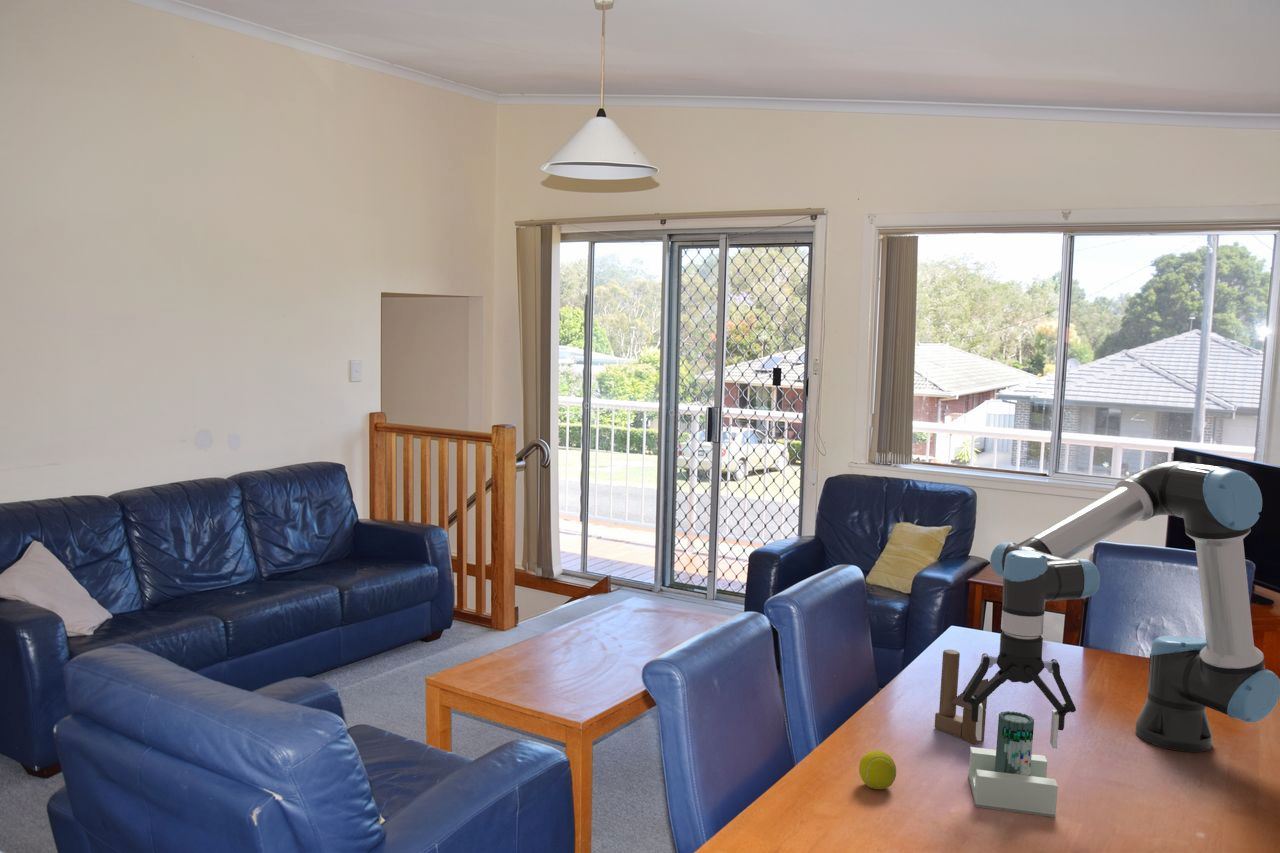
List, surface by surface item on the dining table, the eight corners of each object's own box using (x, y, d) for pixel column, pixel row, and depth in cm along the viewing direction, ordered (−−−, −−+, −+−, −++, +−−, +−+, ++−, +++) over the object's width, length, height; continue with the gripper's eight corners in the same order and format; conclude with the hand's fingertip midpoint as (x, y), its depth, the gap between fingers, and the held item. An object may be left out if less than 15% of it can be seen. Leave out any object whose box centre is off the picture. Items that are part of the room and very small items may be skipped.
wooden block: (974, 745, 218) (979, 664, 216) (933, 728, 226) (938, 650, 225) (984, 741, 220) (990, 661, 218) (944, 725, 229) (949, 647, 227)
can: (1010, 802, 189) (1015, 725, 188) (987, 788, 195) (992, 713, 194) (1034, 797, 192) (1040, 721, 190) (1011, 784, 197) (1016, 710, 196)
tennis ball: (855, 778, 199) (857, 744, 198) (890, 780, 198) (893, 746, 198) (861, 794, 192) (863, 758, 191) (898, 796, 191) (901, 760, 191)
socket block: (1042, 785, 199) (1044, 755, 198) (1055, 817, 185) (1057, 785, 185) (968, 775, 202) (970, 746, 201) (975, 806, 188) (977, 775, 188)
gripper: (1088, 633, 192) (1081, 741, 194) (951, 622, 197) (946, 727, 199) (1096, 644, 184) (1089, 756, 186) (954, 633, 190) (949, 742, 192)
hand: (1015, 741), depth 193 cm, fingers open, 13 cm apart
